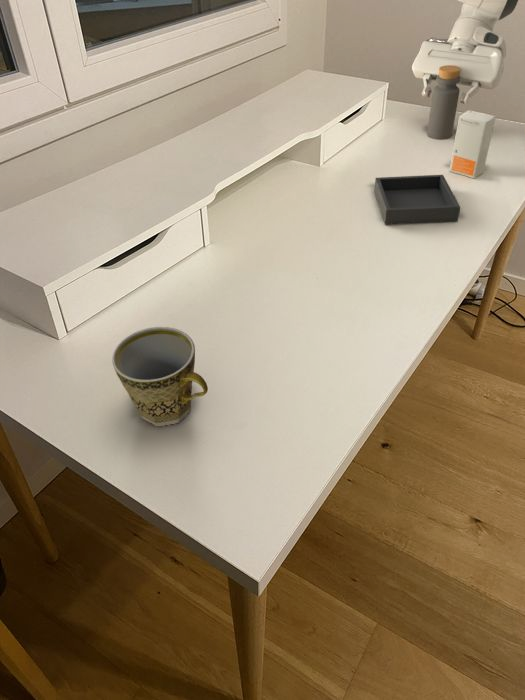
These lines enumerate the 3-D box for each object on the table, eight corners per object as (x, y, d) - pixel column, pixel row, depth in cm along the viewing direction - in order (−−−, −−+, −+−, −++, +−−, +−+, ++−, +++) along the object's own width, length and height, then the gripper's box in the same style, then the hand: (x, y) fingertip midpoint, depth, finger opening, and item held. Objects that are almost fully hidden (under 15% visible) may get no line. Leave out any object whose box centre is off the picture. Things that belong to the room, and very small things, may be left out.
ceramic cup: (112, 417, 77) (94, 361, 70) (163, 372, 83) (151, 317, 76) (188, 460, 71) (176, 403, 64) (236, 408, 77) (230, 352, 70)
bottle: (426, 129, 143) (435, 64, 133) (450, 130, 142) (461, 64, 132) (427, 139, 139) (437, 72, 129) (453, 139, 138) (464, 72, 128)
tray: (440, 188, 120) (443, 174, 118) (457, 221, 110) (460, 206, 108) (374, 191, 120) (375, 177, 118) (384, 225, 110) (386, 210, 108)
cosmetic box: (448, 171, 125) (458, 115, 118) (458, 165, 128) (468, 109, 120) (474, 179, 122) (486, 122, 114) (484, 172, 125) (496, 115, 117)
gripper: (422, 28, 136) (399, 85, 137) (511, 38, 126) (485, 99, 127) (427, 44, 141) (405, 98, 142) (513, 55, 132) (488, 113, 133)
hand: (443, 99), depth 135 cm, fingers open, 8 cm apart
